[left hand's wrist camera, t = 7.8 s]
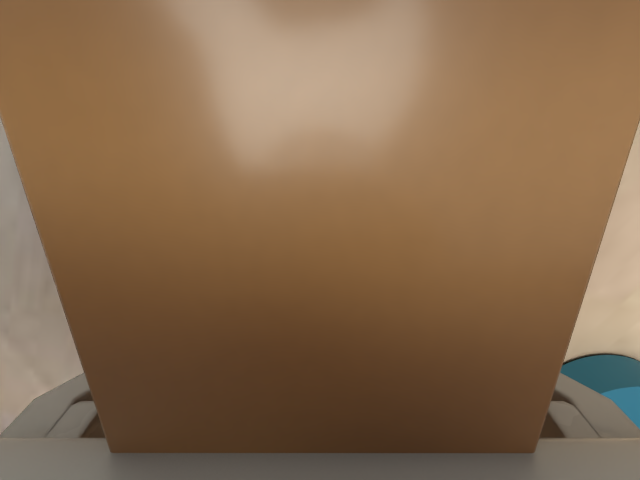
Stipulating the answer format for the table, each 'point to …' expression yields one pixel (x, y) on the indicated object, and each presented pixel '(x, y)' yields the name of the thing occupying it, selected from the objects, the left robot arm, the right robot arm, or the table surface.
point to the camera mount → (610, 380)
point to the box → (321, 210)
